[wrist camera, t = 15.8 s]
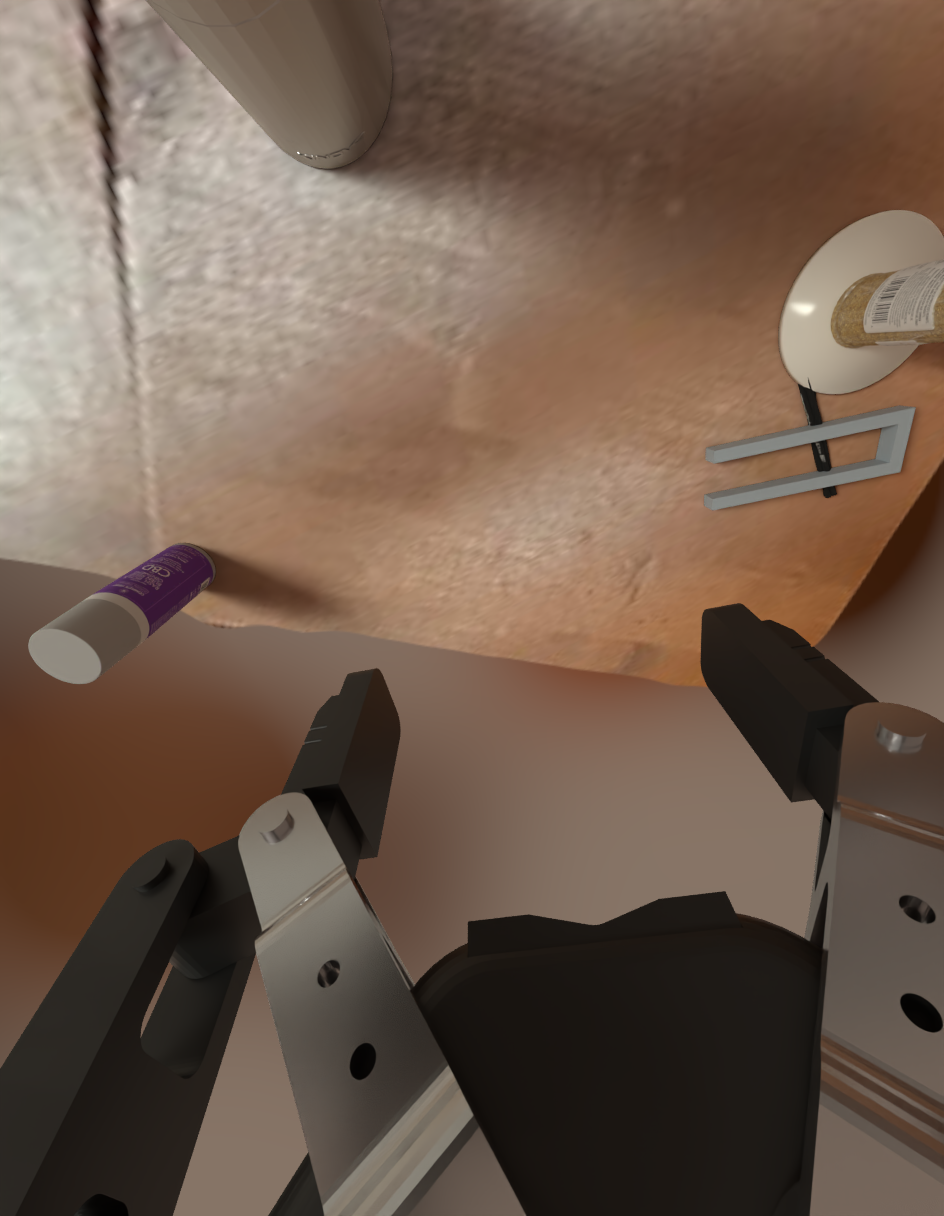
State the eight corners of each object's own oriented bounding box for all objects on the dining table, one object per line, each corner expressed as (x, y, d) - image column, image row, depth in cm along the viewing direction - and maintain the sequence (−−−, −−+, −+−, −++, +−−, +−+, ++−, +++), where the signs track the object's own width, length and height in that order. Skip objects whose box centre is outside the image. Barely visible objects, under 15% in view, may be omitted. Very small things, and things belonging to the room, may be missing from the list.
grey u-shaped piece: (706, 447, 37) (714, 451, 36) (899, 405, 36) (915, 407, 35) (704, 505, 40) (712, 510, 38) (885, 468, 38) (900, 472, 37)
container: (206, 541, 41) (83, 625, 28) (222, 586, 44) (115, 684, 31) (156, 544, 42) (11, 629, 28) (175, 589, 44) (49, 687, 31)
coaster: (787, 237, 31) (792, 235, 30) (962, 191, 30) (971, 188, 29) (771, 408, 36) (775, 409, 35) (919, 375, 35) (926, 375, 34)
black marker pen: (789, 361, 35) (797, 361, 34) (802, 353, 34) (811, 353, 34) (819, 496, 40) (827, 499, 39) (831, 490, 39) (840, 493, 39)
